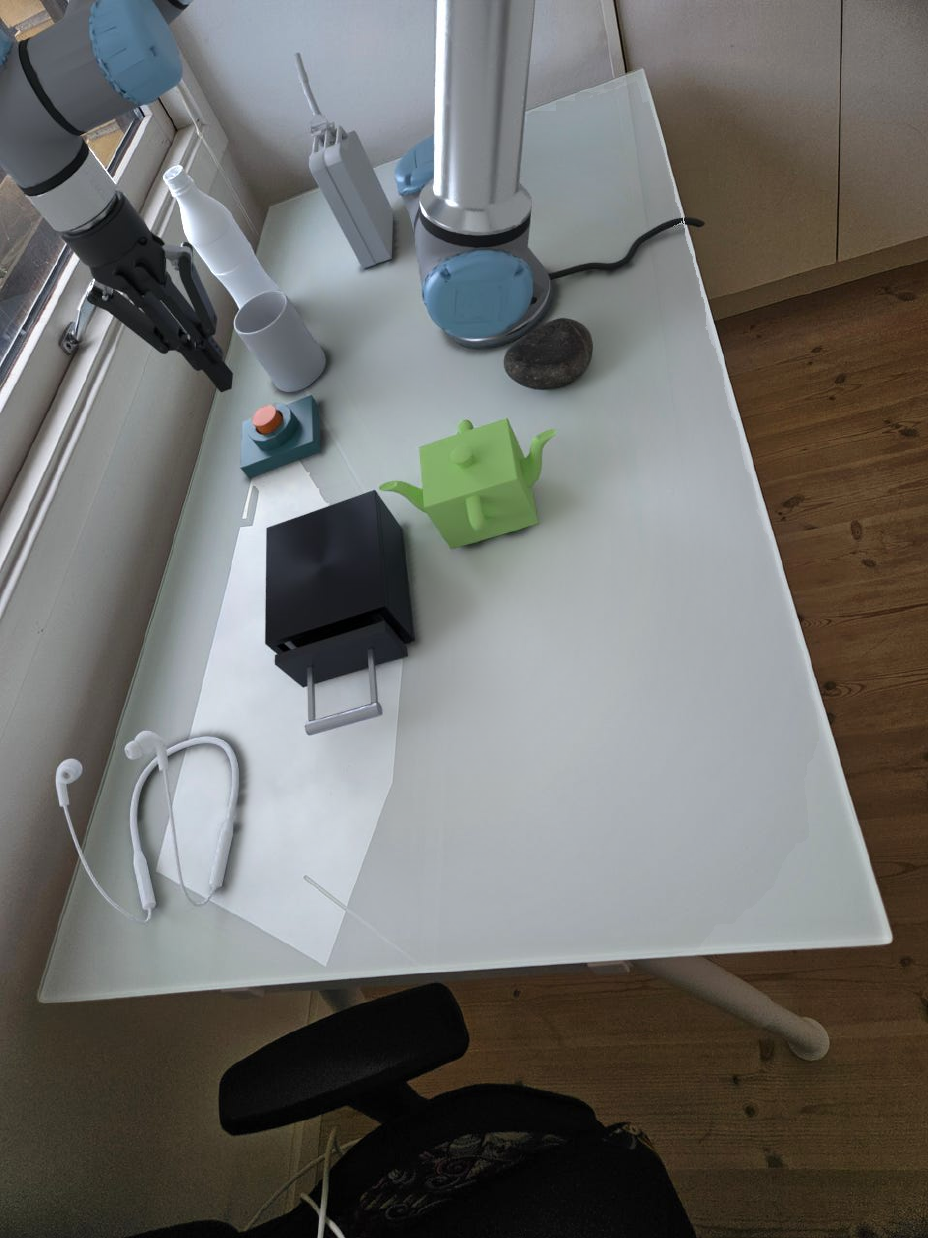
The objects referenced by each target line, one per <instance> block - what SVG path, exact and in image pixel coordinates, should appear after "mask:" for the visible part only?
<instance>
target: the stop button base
mask: <svg viewBox="0 0 928 1238" xmlns="http://www.w3.org/2000/svg"><path fill="white" fill-rule="evenodd" d="M270 405H271V406H274V407H275V408H276V410H277V411H278V412H279V414H280V415H281V416H282V422H281V424H280V426H279V427H278V428H277V429H275V430H274V431H273V432H271V433H268V434H262V433H260V431H259V430H258V429H257V428H256V427H255V425H254V424H253V422H252V418H253V417H250V418H247V419H245V420H243V421H242V422H241V437H240V438H241V440H240V464H239V465H240V466H239V468H240V470H241V471H242V472H243V474H245V476H246V477H247V478H249V479H251V478H254V477H256V476H260V475H262V474H264V473H268V472H271V471H273V470H276V469H279V468H282V467H283V466H287V465H289V464H291V463H294V462H297V461H300V460H303V459H306V458H308V457H311V456H314V455H316V454H319V453H321V452H322V447H321V446H322V445H321V443H322V442H321V417H320V405H319V403H318V402H317V401H316V398H314V396H313V395H312V394H310V395H308V396H304V397H302V398H300V399H297V400H295V401H294V400H293V401H292V402H289V403H287V404H286V403H273V404H270Z"/></svg>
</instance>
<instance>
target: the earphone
mask: <svg viewBox="0 0 928 1238" xmlns="http://www.w3.org/2000/svg"><path fill="white" fill-rule="evenodd" d="M200 744H213V745H217V746H219V747H220V748H222V749H223V750H224V752H225V753H226V754H227V756H228V759H229V763H230V767H231V789H230V797H229V803H228V807H227V813H226V818H225V821H224V823H223V825H222V828H221V829H220V832H219V837H218V841H217V846H216V851H215V855H214V859H213V863H212V868H211V872H210V877H209V880H208V886H209V887H210V888H212V889H211V890H210V892H209V894H208V895H207V897H206V898H205V899H204V900H203V901H201V902H195V901H193V900H192V898H191V897H190V895H189V893H188V892H187V889H186V886H185V883H184V879H183V876H182V871H181V864H180V856H179V849H178V842H177V834H176V827H175V818H174V811H173V803H172V796H171V789H170V784H169V783H170V782H169V777H168V770H169V769H170V765H169V764H170V763H169V759H168V758H169V756H171V755H173V754H174V753H177V752H178V751H181V750H184V749H186V748H189V747H192V746H195V745H200ZM154 750H155V753H156V756H155V758H153V760H151V762H150V763H149V764H148V765H146V767H145V768H144V770H143V771H142V772H141V775H140V776H139V777H138V779H137V781H136V784H135V786H134V790H133V793H132V797H131V801H130V802H131V803H130V808H129V809H130V810H129V827H130V828H129V829H130V836H131V841H132V848H133V863H132V864H133V869H134V872H135V879H136V882H137V887H138V892H139V897H140V902H141V907H142V909H143V910H144V911H147V918H146V919H145V920H140V919H139V918H137V917H135V916H133V915H132V914H130V913H129V912H128V911H126V910H125V909H123V908H122V907H121V906H120V905H118V904H117V903H116V902H115V901H114V900H113V899H112V898H110V896H108V894H107V893H106V892H105V891H104V890H103V888H102V887H101V885H100V884H99V882H98V881H97V879H96V878H95V876H94V874H93V873H92V871H91V869H90V867H89V865H88V862H87V860H86V858H85V856H84V853H83V851H82V848H81V846H80V844H79V841H78V838H77V835H76V833H75V829H74V826H73V823H72V819H71V816H70V813H69V809H68V806H69V805H70V798H69V793H68V787H67V785H69V784H72V783H74V782H75V781H77V780H78V779H79V778H80V777H81V775H82V774H83V770H84V768H83V765H82V763H81V762H80V760H78V759H76V758H67V759H64V760H63V761H62V762H61V763H60V764H59V765H58V767H57V769H56V773H55V787H56V792H57V793H56V794H57V798H58V804H59V807H60V808H63V811H64V815H65V818H66V821H67V824H68V828H69V830H70V831H69V832H70V834H71V837H72V840H73V841H74V845H75V849H76V850H77V853H78V855H79V858H80V860H81V862H82V864H83V866H84V869H85V871H86V873H87V874H88V876H89V878H90V880H91V882H92V883H93V885H94V886H95V887H96V889H97V890H98V892H99V893H100V894H101V895H102V897H104V899H105V900H106V901H107V902H108V904H110V905H111V906H113V908H115V909H116V910H117V911H118V912H120V913H121V914H123V915H124V916H125V917H127V918H129V920H131V921H133V922H134V923H137V924H139V925H147V924H148V923H149V922H150V921H151V919H152V913H153V911H152V910H153V909H155V907H156V906H157V903H156V902H157V901H156V898H155V892H154V888H153V884H152V879H151V875H150V870H149V866H148V861H147V858H146V857H145V855H144V853H143V851H142V845H141V841H140V835H139V829H138V828H139V827H138V808H139V799H140V796H141V792H142V789H143V788H144V785H145V782H146V780H147V778H148V777H149V775H151V773H152V771H153V770H154V769H155V768H156V767H157V766H158V770H159V772H163V778H164V779H163V780H164V784H165V785H164V786H165V792H166V799H167V805H168V813H169V820H170V828H171V836H172V844H173V852H174V859H175V866H176V872H177V877H178V881H179V882H178V883H179V886H180V889H181V891H182V894H183V896H184V897H185V899H186V900H187V902H188V903H189V904H190V905H192V906H193V907H197V908H199V907H202V906H205V905H206V904H207V903H209V901H210V900H211V898H212V896H213V895H214V893H215V891H216V889H219V888H222V885H223V883H224V878H225V874H226V873H225V872H226V869H227V865H228V860H229V855H230V850H231V846H232V841H233V837H234V818H235V812H236V808H237V802H238V795H239V789H240V770H239V762H238V758H237V756H236V753H235V751H234V749H233V748H232V747H231V745H230V744H229V743H228V742H226V741H225V740H223V739H222V738H220V737H219V738H218V737H216V736H198V737H194V738H191V739H187V740H184V741H181V742H178V743H177V744H174V745H173V746H170V747H169V748H167V746H166V743H165V741H164V739H163V738H162V737H161V736H160V735H159V734H157V733H155V732H153V731H151V730H150V731H149V730H143V731H140V732H139V733H137V735H136V736H135V737H134V739H133V740H131V741H129V742H127V744H126V745H125V747H124V753H125V755H126V757H127V758H128V759H129V760H133V761H134V760H138V759H140V758H141V757H142V756H147V755H149V754H151V753H152V752H153V751H154Z"/></svg>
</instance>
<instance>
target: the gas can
mask: <svg viewBox="0 0 928 1238" xmlns="http://www.w3.org/2000/svg"><path fill="white" fill-rule="evenodd" d="M292 58H293V61H294V64H295V68H296V71H297V77H298V80H299V83H300V85H301V87H302V90H303V93H304V96H305V98H306V100H307V103H308V104H309V107H310V110H311V112H312V114H313V117H312V119H311V121H310V122H309V124H310V136H313V143H312V150H311V154H309V158H308V166H309V170H310V172H311V175H312V177H313V178H314V180H315V182H316V184H317V186H318V188H319V190H320V191H321V193H322V195H323V197H324V199H325V201H326V203H327V205H328V207H329V208H330V210H331V212H332V214H333V216H334V218H335V220H336V222H337V223H338V225H339V227H340V229H341V230H342V232H343V234H344V235H343V236H344V237H345V238H346V240H347V242H348V245H350V248H351V249H352V251H353V253H354V255H355V257H356V259H357V261H358V263H359V264H360V266H361V268H362V269H368V268H370V267H372V266H376V265H377V264H381V263H384V262H387V261H390V260H392V258H393V233H394V232H393V229H394V211H393V208H392V206H391V203H390V202H389V200H388V197H387V195H386V193H385V191H384V189H383V187H382V184H381V182H380V181H379V178H378V176H377V174H376V171H375V169H374V168H373V165H372V163H371V161H370V159H369V157H368V155H367V153H366V150H365V148H364V146H363V144H362V141H361V140H360V138H359V135H358V134H357V133H358V132H357V131H356V130H351V131H349V132H347V131H346V130H345V129H344V128H343V126H341V125H338V126H337V127H336V126H335V121H332V122H330V121H329V120H328V119H327V118H326V116H325V115H323V114H322V111H321V110H320V109H319V106H318V103H317V101H316V98H315V96H314V93H313V91H312V89H311V86H310V83H309V81H310V80H309V77H308V73H307V72H306V70H305V66H304V63H303V59H302V56H301V53H300V52H295V53H294V54H292Z"/></svg>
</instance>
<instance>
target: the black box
mask: <svg viewBox="0 0 928 1238" xmlns="http://www.w3.org/2000/svg"><path fill="white" fill-rule="evenodd" d="M265 531H266V532H265V536H266V537H265V538H266V539H265V606H264V608H265V610H264V611H265V612H264V613H265V614H264V615H265V617H264V645H265V646H267V647H268V648H269V649H271V651H273V652H274V653H275V655H276V654H279V653H282V652H286V651H289V650H291V649H290V648H289V647H288V646H287V645H285V644H284V643H286V642H289V641H292V640H295V639H299V638H302V637H305V636H308V635H311V634H314V633H318V632H321V631H324V630H327V629H330V628H334V627H337V626H340V625H343V624H346V623H349V622H353V621H356V620H359V619H362V618H365V617H368V616H372V615H375V614H378V613H382V614H383V616H384V617H385V618H386V619H387V620H388V621H389V622H390V624H391V625H392V626H393V627H394V628H395V629H396V630H397V632H398V637H399V638H400V639H401V640H402V642H403V643H404V644H405V645H408V644H410V643H413V642H415V641H416V638H415V628H414V620H413V611H412V602H411V592H410V584H409V583H410V582H409V573H408V572H409V571H408V564H407V555H406V546H405V536H404V529H403V527H402V526H401V524H400V523H399V522H398V520H397V519H396V518H395V516H394V514H393V513H392V512H391V511H390V509H389V508H388V506H387V505H386V503H385V502H384V500H383V499H382V498H381V496H380V495H379V493H378V491H377V490H376V489H373V490H370V491H367V492H364V493H361V494H358V495H355V496H353V497H350V498H348V499H344V500H342V501H339V502H336V503H332V504H330V505H327V506H325V507H322V508H318V509H316V510H314V511H313V510H312V511H310V512H307V513H305V514H302V515H299V516H296V517H293V518H291V519H288V520H285V521H282V522H279V523H276V524H273V525H270V526H268V527H266V529H265Z"/></svg>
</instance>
